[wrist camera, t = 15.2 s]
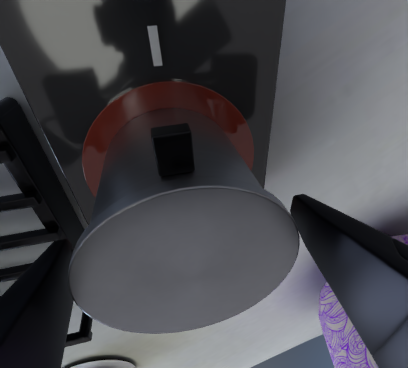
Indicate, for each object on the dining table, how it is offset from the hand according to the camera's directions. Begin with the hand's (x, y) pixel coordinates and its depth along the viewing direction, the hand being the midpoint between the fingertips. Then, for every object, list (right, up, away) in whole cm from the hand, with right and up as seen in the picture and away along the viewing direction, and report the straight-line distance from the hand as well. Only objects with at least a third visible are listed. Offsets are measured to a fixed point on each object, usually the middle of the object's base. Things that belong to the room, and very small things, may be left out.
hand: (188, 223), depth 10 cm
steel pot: (-1, +2, +3) cm, 4 cm away
